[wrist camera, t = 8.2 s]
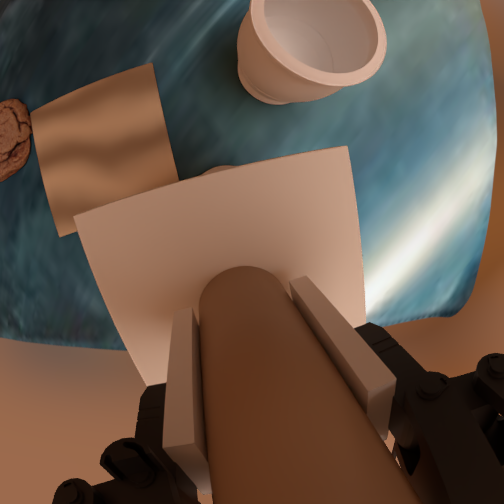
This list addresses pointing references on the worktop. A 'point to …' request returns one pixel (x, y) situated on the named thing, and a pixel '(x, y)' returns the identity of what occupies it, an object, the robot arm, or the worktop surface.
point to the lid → (252, 321)
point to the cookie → (13, 137)
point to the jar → (308, 48)
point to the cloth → (102, 144)
